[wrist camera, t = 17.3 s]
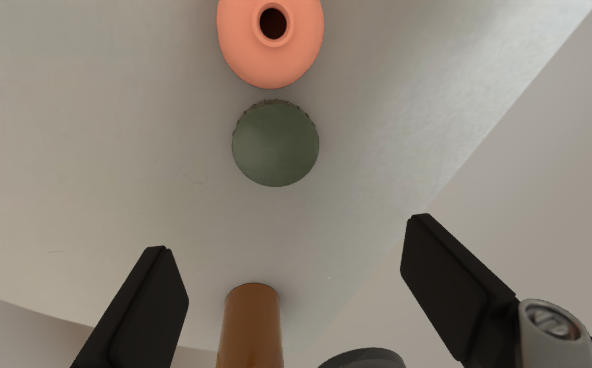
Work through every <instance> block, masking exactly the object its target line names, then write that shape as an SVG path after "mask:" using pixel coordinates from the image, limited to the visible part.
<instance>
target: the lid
mask: <svg viewBox="0 0 592 368" xmlns="http://www.w3.org/2000/svg"><path fill="white" fill-rule="evenodd" d="M232 150H233V155H234V159H235V161H236V163H237V165H238V167H239V168H240V170H241V171H242V172H243V173H244V174H245V175H246V176H247V177H248V178H250V179H251V180H253V181H254V182H256V183H259V184H261V185H265V186H270V187H281V186H286V185H290V184H292V183H295V182H297V181H298V180H300V179H301V178H303V177H304V176H305V175H306V174H307V173H308V172H309V171H310V170H311V169H312V167H313V165H314V164H315V161H316V159H317V156H318V151H319V138H318V134H317V131H316V129H315V125H314V124H313V122H311V120H310V119H309V116H308V115H307V113H306V114H305V113H304V112H303V111H302V110H301V109H300V108H299V106H295V105H293V104H291V103H289V102H288V101H287V102H285V101H280V100H277V99H276V100H269V101H266V100H264V102H261V103H258V104H256V105H255V104H254V105H253V107H251V108H250V109H249V110H247V111H245V112H244V114H243V116H242V117H241V119H240V120H238V122H237V126H236V129H235V130H234V132H233V141H232Z"/></svg>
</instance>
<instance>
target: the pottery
mask: <svg viewBox="0 0 592 368" xmlns="http://www.w3.org/2000/svg"><path fill="white" fill-rule="evenodd" d="M216 21H217V31H218V40H219V44H220V48H221V51H222V53H223V55H224V58H225V60H226V62H227V63H228V65H229V66H230V67H231V69H232V70H233V71H234V72H235V73H236V74H237V75H238V76H239V77H240V78H241V79H243V80H244V81H246V82H247V83H249V84H251V85H253V86H256V87H260V88H264V89H276V88H281V87H285V86H287V85H289V84H292V83H293V82H294V81H296V80H297V79H299V78H300V77H301V76H302V75H303V74H304V73H305V72H306V71H307V70H308V69H309V68H310V66H311V65H312V63H313V62H314V60H315V59H316V57H317V55H318V52H319V50H320V48H321V44H322V39H323V32H324V20H323V11H322V8H321V4H320V1H319V0H219V3H218V7H217V18H216Z"/></svg>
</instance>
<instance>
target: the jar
mask: <svg viewBox="0 0 592 368" xmlns="http://www.w3.org/2000/svg"><path fill="white" fill-rule="evenodd" d="M216 368H284V360H283V346H282V332H281V317H280V303H279V296H278V294H277V292H276V291H275V290H274V289H272V288H271V287H269V286H267V285H264V284H259V283H249V284H244V285H241V286H239V287H237V288H235V289H233V290H232V291H231V292H230V293H229V294H228V296H227V298H226V301H225V307H224V314H223V321H222V328H221V334H220V341H219V348H218V354H217V362H216Z"/></svg>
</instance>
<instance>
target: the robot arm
mask: <svg viewBox="0 0 592 368" xmlns="http://www.w3.org/2000/svg"><path fill="white" fill-rule="evenodd" d="M400 272H401V276H402V278H403V279H404V281H405V282H406V284H407V286H408V287H409V289H410V290H411V292H412V294H413V295H414V297H415V298H416V300H417V301H418V303H419V304H420V306H421V308H422V309H423V310H424V312H425V314H426V315H427V317H428V319H429V320H430V322H431V323H432V325H433V326H434V328H435V330H436V331H437V332H438V334H439V336H440V337H441V339H442V341H443V342H444V343H445V345H446V347H447V348H448V350H449V351H450V353H451V354H452V356H453V357H454V359H455V360H457V361H460V362H461V363H462V365H463V366H464V368H592V337H591V336H590V335H589V333H588V331H587V329H586V327H585V326H584V325H583V324H582V323H581V322H580V321H579V319H577V318H576V317H575V316H573V315H572V314H571V313H569V312H568V311H567V310H565V309H563V308H561V307H559V306H557V305H555V304H552V303H550V302H548V301H544V300H540V299H526V300H523V301H522V302H520V301H519V300H518V299H517V298H516V297H515V295H516V294H515V293H514V292H513V291H512V290H511V289H510V288H509V287H508V286H507V285H506V284H504V283H503V282H502V281H501V280H500V279H499V278H498V277H497V276H496V275H495V274H494V273H492V272H491V270H489V269H488V268H487V267H486V266H485V265H484V264H483V263H482V262H481V261H480V260H479V259H478V258H476V257H475V256H474V255H473V254H472V253H471V252H470V251H469V250H468V249H467V248H466V247H465V246H463V245H462V244H461V243H460V242H459V241H458V240H457V239H456V238H455V237H453V235H451V234H450V233H449V232H448V231H447V230H446V229H445V228H444V227H443V226H442V225H441V224H440V223H438V222H437V221H436V220H435V219H434V218H433V217H432V216H431V215H430V214H428V213H424V214H416V215H412V217H411V219H408V221H407V226H406V233H405V239H404V246H403V253H402V259H401V266H400ZM188 306H189V298H188V295H187V292H186V290H185V287H184V284H183V281H182V279H181V276H180V273H179V270H178V268H177V265H176V262H175V259H174V257H173V254H172V251H171V250H170V249H166V247H165V246H154V247H148V248H146V249H145V250H144V252H143V253H142V255H141V257H140V258H139V260H138V261H137V263H136V265H135V266H134V268H133V269H132V271H131V272H130V274H129V276H128V277H127V279H126V280H125V282H124V283H123V285H122V287H121V288H120V290H119V291H118V293H117V294H116V296H115V297H114V299H113V300H112V302H111V304H110V305H109V307H108V308H107V310H106V311H105V313H104V315H103V316H102V318H101V319H100V321H99V322H98V324H97V326H96V327H95V329H94V330H93V332H92V333H91V335H90V337H89V338H88V340H87V341H86V343H85V345H84V346H83V348H82V349H81V351H80V352H79V354H78V355H77V357H76V359H75V360H74V362H73V363H72V365H71V367H70V368H170V365H171V362H172V359H173V355H174V352H175V349H176V346H177V343H178V339H179V336H180V333H181V330H182V326H183V323H184V320H185V317H186V313H187V310H188Z"/></svg>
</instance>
